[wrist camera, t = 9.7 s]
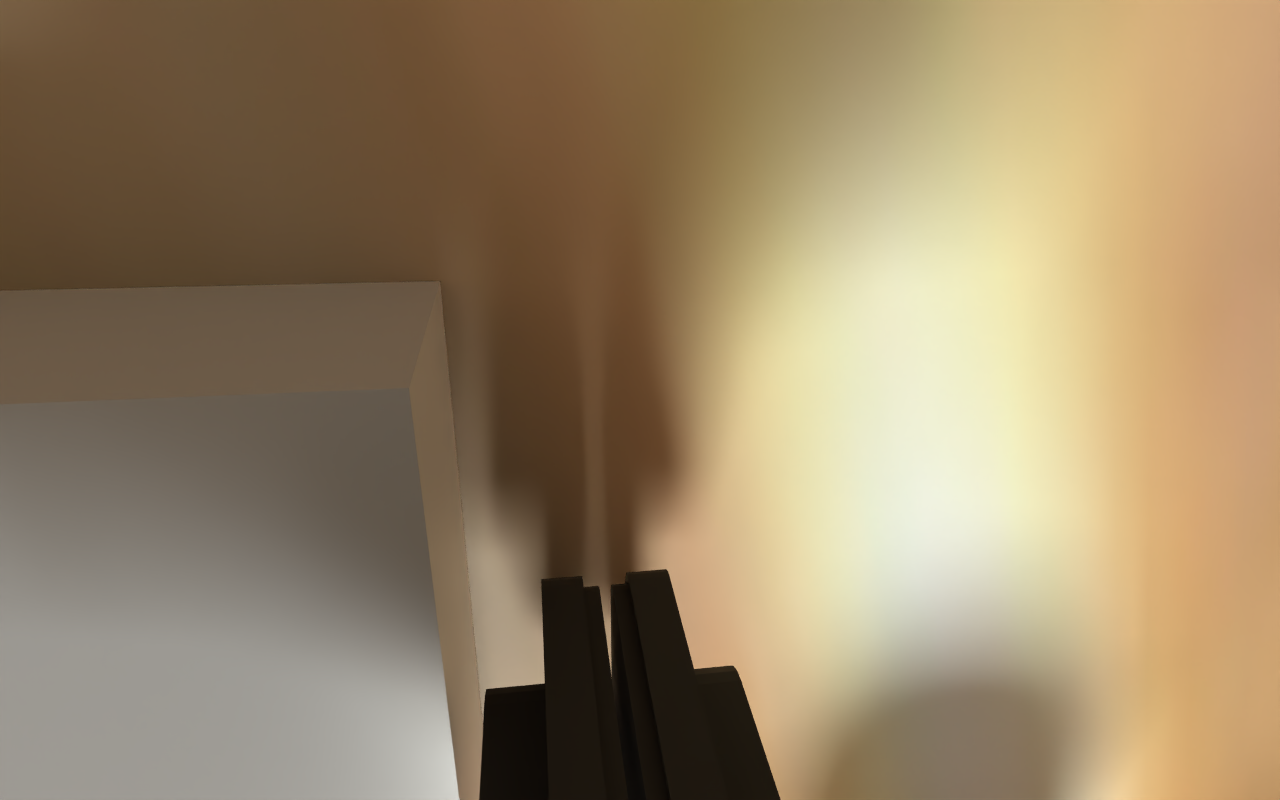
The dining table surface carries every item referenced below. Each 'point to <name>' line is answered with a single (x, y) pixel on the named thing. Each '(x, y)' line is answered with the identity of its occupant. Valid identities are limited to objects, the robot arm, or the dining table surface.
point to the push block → (233, 547)
